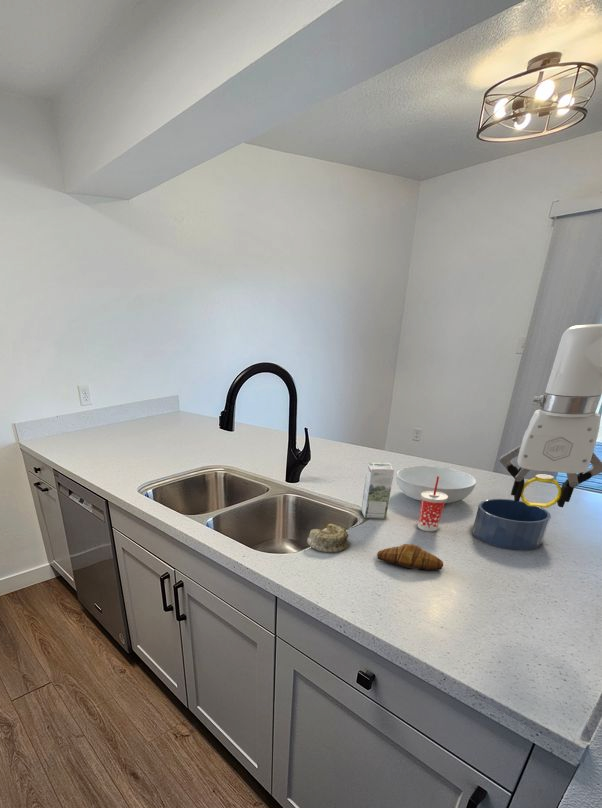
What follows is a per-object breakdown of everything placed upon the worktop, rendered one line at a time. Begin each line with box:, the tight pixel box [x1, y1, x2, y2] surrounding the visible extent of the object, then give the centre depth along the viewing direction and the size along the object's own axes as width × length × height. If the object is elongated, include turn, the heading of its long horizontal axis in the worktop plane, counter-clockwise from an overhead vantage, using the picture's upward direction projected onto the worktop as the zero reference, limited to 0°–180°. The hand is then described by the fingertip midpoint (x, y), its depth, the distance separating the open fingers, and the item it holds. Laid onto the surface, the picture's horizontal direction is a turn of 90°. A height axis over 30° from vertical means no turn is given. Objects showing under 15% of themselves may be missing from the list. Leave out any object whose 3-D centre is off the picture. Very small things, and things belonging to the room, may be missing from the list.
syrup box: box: [360, 462, 395, 520], centre depth 118 cm, size 6×6×14 cm
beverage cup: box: [417, 476, 448, 532], centre depth 110 cm, size 6×6×14 cm
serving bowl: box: [395, 465, 477, 504], centre depth 129 cm, size 21×21×7 cm
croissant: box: [376, 543, 444, 571], centre depth 96 cm, size 14×7×5 cm, turn 64°
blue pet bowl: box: [471, 498, 552, 551], centre depth 105 cm, size 14×14×7 cm
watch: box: [520, 473, 562, 508], centre depth 82 cm, size 6×3×6 cm, turn 57°
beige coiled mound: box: [306, 523, 349, 553], centre depth 107 cm, size 10×10×5 cm
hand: (537, 501), depth 82 cm, fingers closed on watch, 6 cm apart
